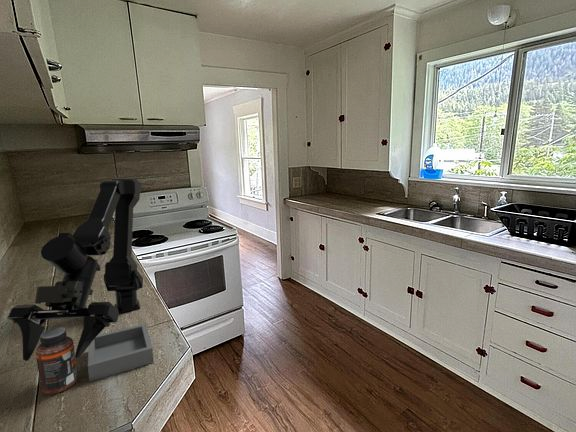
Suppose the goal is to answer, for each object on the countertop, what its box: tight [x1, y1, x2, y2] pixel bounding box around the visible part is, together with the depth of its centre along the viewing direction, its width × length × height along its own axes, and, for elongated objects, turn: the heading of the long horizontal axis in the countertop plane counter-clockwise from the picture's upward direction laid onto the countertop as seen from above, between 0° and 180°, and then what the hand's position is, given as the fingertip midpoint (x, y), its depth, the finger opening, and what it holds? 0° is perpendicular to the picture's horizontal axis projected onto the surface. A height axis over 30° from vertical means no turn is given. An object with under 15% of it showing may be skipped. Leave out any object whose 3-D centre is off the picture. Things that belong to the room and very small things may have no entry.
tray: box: [87, 323, 154, 382], centre depth 71 cm, size 12×12×4 cm
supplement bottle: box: [35, 327, 78, 395], centre depth 61 cm, size 6×6×11 cm
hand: (51, 359), depth 60 cm, fingers open, 9 cm apart
